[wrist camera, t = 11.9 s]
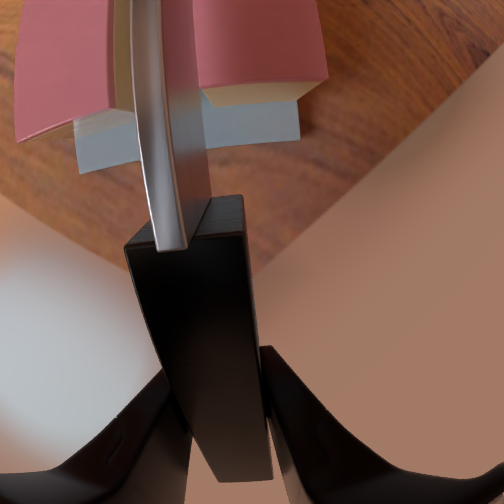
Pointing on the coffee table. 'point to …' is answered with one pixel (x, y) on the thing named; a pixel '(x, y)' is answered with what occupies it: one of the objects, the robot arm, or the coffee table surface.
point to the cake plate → (108, 87)
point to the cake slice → (258, 50)
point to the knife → (194, 254)
